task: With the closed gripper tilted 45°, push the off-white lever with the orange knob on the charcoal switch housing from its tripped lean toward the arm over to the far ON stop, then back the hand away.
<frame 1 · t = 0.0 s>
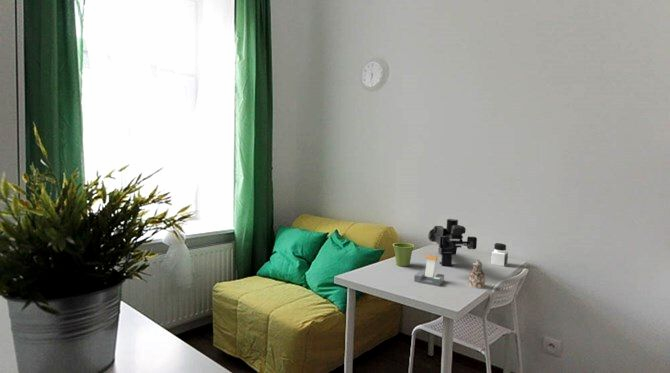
hand: (463, 246, 183), 17 cm above the table, tool horizontal, fingers open, 9 cm apart
medicine bottle: (499, 264, 213), on the table
plant pot: (402, 265, 208), on the table
figurine: (476, 285, 176), on the table
switch lever: (430, 266, 181), point 7 cm above the table, hinge at -22.0°
switch housing: (429, 281, 181), on the table
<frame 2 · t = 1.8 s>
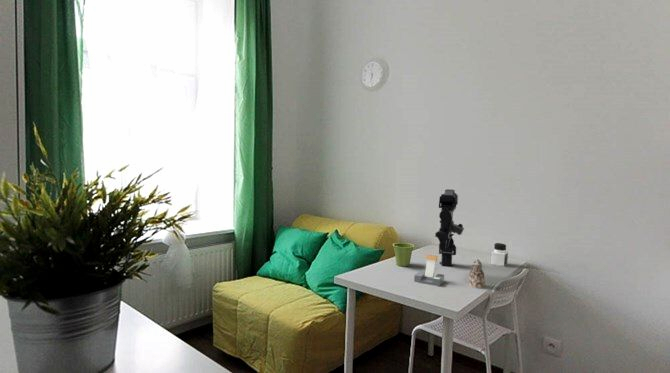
hand: (445, 248, 193), 13 cm above the table, tool pointing down, fingers open, 5 cm apart
nothing on the table moved.
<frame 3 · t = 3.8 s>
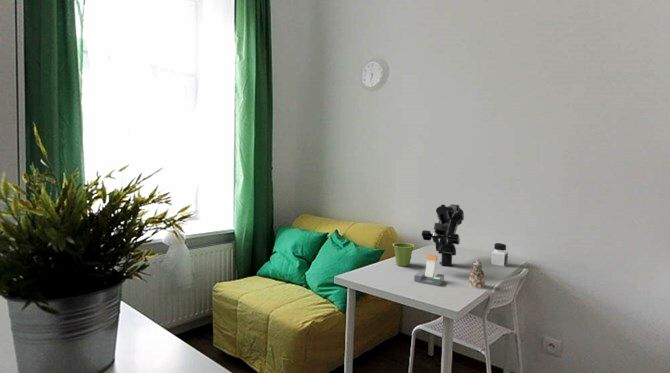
hand: (436, 250, 190), 13 cm above the table, tool tilted 45°, fingers closed
nothing on the table moved.
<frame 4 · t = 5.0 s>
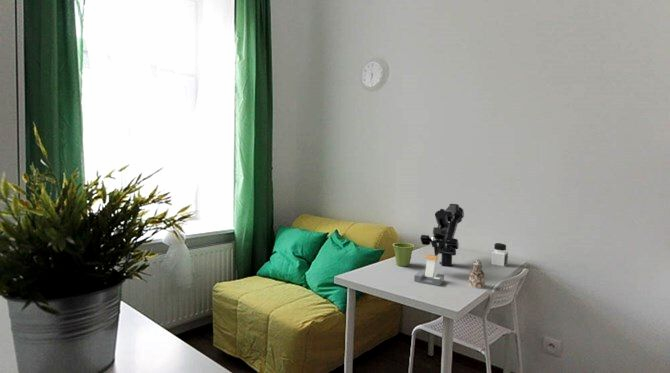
hand: (435, 255, 188), 10 cm above the table, tool tilted 45°, fingers closed
nothing on the table moved.
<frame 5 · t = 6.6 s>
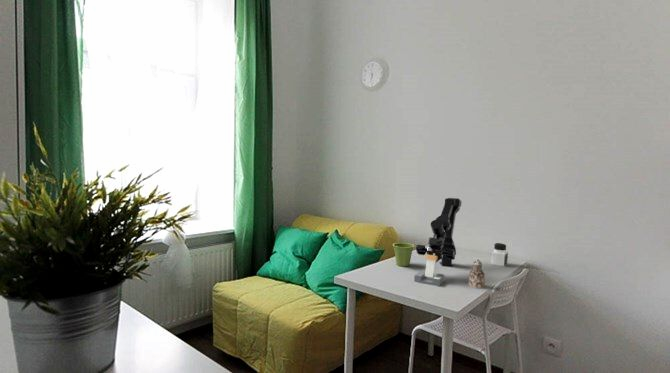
hand: (431, 266, 183), 6 cm above the table, tool tilted 45°, fingers closed, pressing on switch lever
switch lever: (430, 266, 181), point 7 cm above the table, hinge at -19.5°, touching gripper
everything else where it was.
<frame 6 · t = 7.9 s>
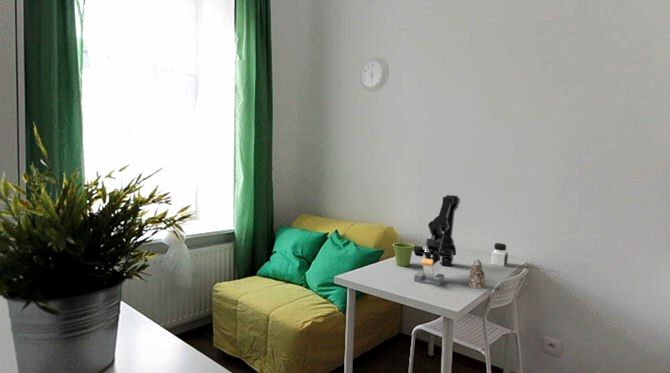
hand: (429, 268, 179), 7 cm above the table, tool tilted 45°, fingers closed, pressing on switch lever
switch lever: (428, 268, 178), point 7 cm above the table, hinge at 31.9°, touching gripper
everything else where it was.
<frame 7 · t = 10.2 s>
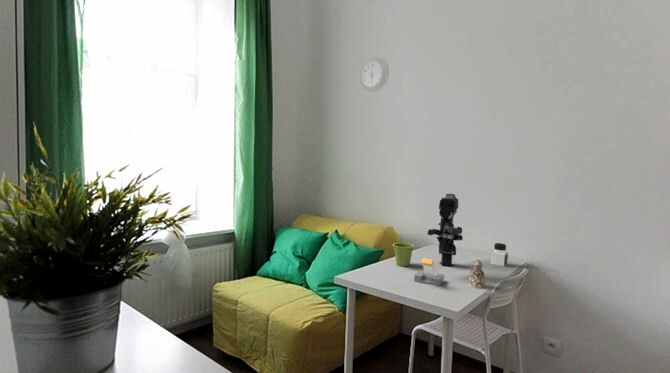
hand: (444, 251, 190), 12 cm above the table, tool tilted 20°, fingers closed
switch lever: (428, 268, 178), point 7 cm above the table, hinge at 31.9°
everything else where it was.
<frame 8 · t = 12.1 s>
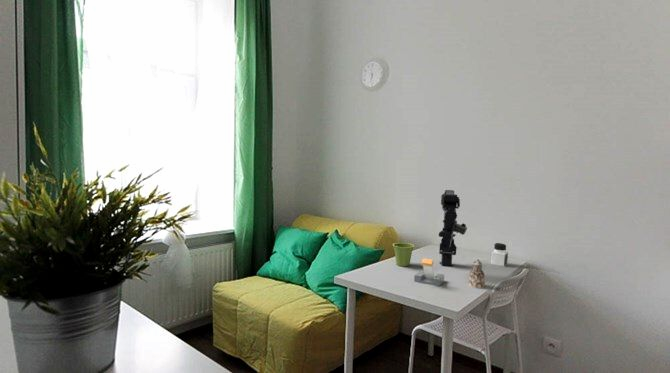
hand: (448, 248, 194), 13 cm above the table, tool pointing down, fingers closed
nothing on the table moved.
at the end: switch lever at +32° (first picture: -22°); figurine moved 0.2 cm from its start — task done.
